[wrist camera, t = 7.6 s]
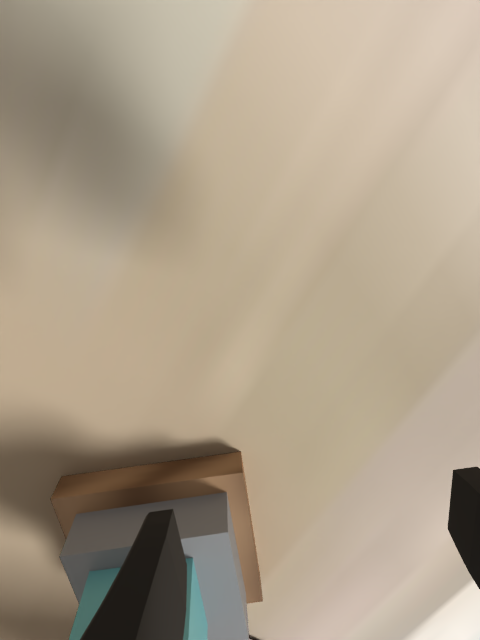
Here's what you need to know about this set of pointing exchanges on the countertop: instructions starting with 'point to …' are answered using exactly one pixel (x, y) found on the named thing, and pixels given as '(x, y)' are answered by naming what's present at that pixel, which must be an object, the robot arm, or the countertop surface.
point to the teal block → (101, 584)
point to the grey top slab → (198, 543)
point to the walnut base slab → (167, 497)
